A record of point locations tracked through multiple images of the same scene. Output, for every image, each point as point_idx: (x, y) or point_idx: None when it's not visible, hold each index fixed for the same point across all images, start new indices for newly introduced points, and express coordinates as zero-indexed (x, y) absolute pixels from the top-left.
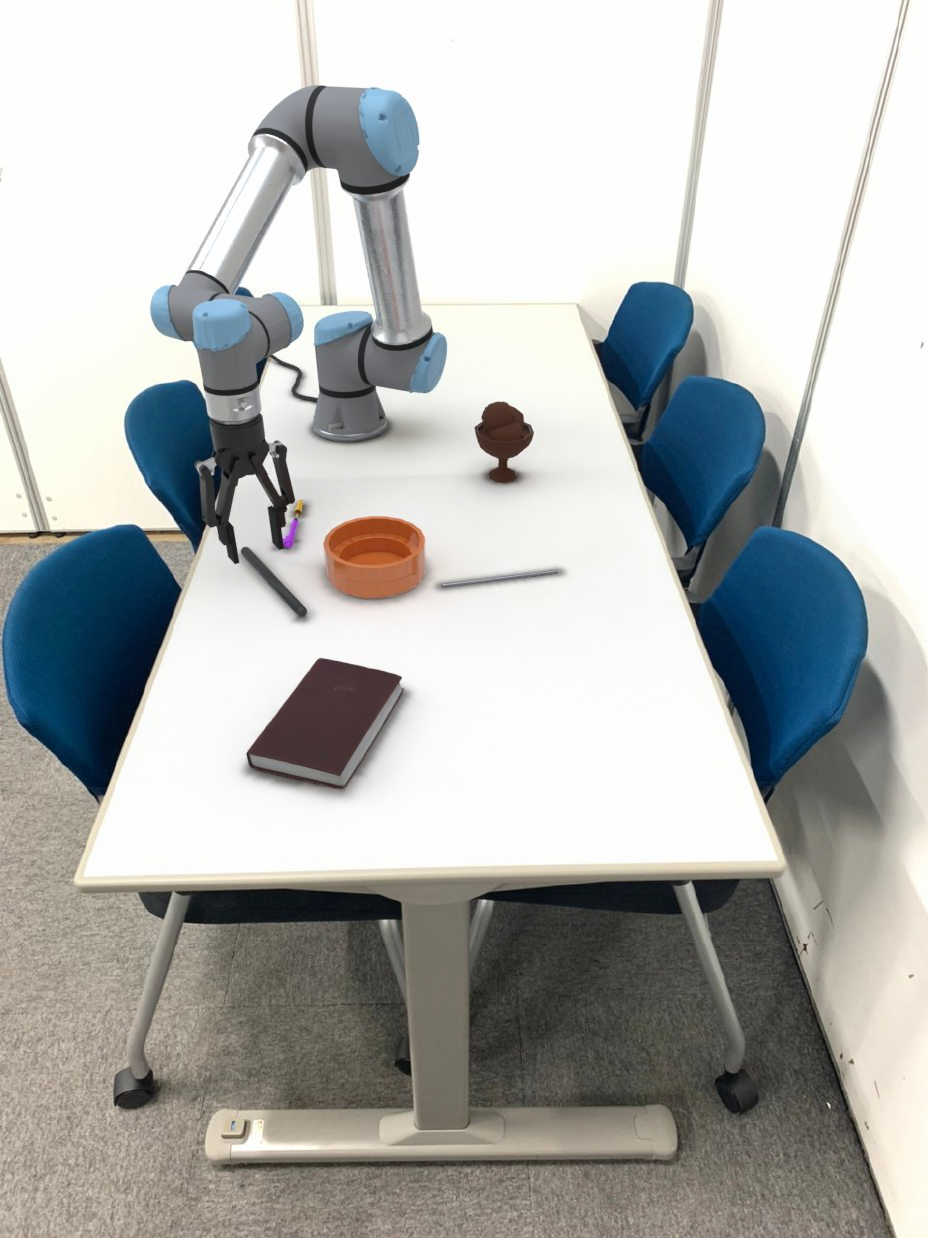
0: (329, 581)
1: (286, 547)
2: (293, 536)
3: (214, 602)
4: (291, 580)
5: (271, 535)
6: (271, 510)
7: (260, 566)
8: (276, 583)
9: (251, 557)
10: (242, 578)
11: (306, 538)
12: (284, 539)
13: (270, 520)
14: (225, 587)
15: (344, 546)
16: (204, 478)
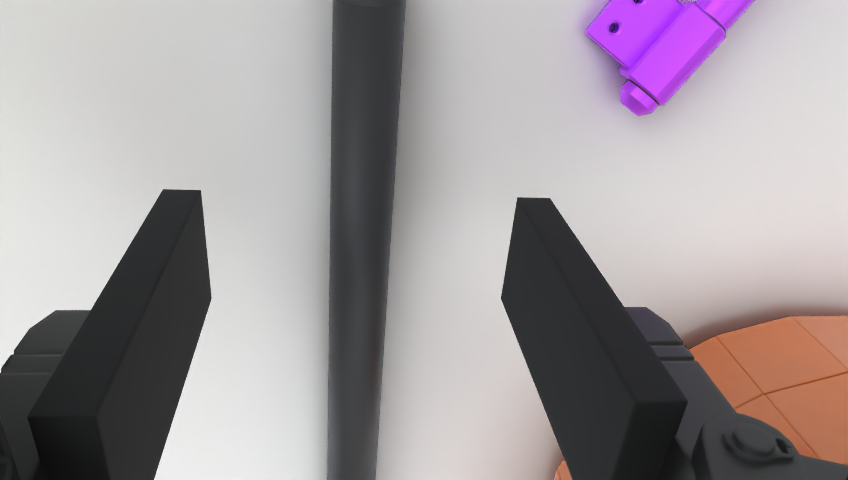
0: (556, 477)
1: (620, 73)
2: (722, 40)
3: (24, 334)
4: (446, 357)
5: (533, 227)
6: (615, 476)
7: (348, 276)
8: (345, 437)
9: (349, 155)
10: (239, 218)
11: (779, 39)
12: (663, 14)
13: (576, 331)
14: (119, 246)
15: None
16: None
